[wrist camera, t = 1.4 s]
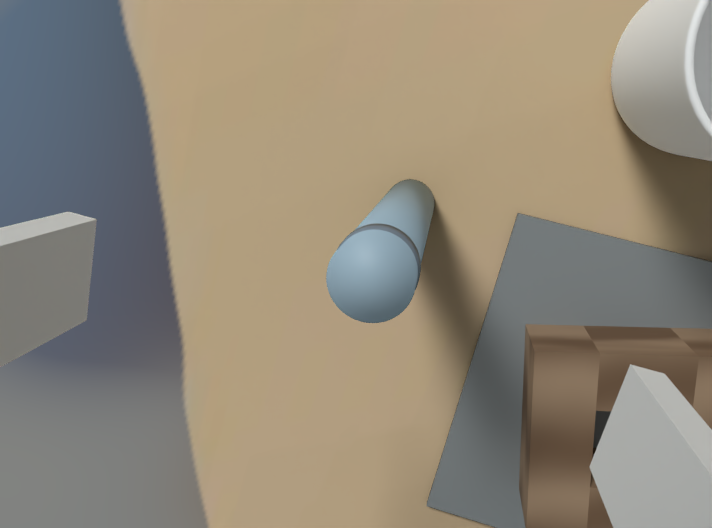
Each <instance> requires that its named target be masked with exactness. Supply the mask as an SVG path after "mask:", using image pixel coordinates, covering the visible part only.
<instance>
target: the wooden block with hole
mask: <svg viewBox="0 0 712 528" xmlns="http://www.w3.org/2000/svg"><path fill="white" fill-rule="evenodd" d="M630 364H631V365H635V366H638V367H642V368H646V369H649V370H653V371H657V372H660V373H664V374H665V375H666V376H667V377H668V378H669V379H670V381H671V382H672V383H673V384H674V385H675V387H676V388H677V389H678V390H679V391H680V393H681V394H682V395H683V396H684V397H685V399H686V400H687V401H688V402H689V403H690V405H691V406H692V407H693V408H694V409H695V411H696V412H697V413H698V414H699V415H700V417H701V418H702V419H703V420H704V421H705V422H706V424H707V425H708V426H709V427H710V428H711V430H712V329H700V328H659V327H618V326H578V325H537V324H525V349H524V374H523V399H522V424H521V449H520V473H519V492H520V498H521V504H522V510H523V516H524V522H525V528H613V526H612V523H611V521H610V518H609V516H608V513H607V510H606V508H605V505H604V503H603V500H602V498H601V495H600V493H599V490H598V488H597V485H596V483H595V480H594V478H593V475H592V472H591V470H590V467H589V466H590V464H591V461H592V459H593V456H594V454H595V451H596V449H597V448H593V442H594V429H595V416H596V411H612V409H613V406H614V404H615V401H616V399H617V396H618V394H619V391H620V389H621V386H622V384H623V381H624V379H625V376H626V374H627V371H628V369H629V366H630Z"/></svg>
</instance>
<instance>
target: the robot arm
mask: <svg viewBox="0 0 712 528" xmlns="http://www.w3.org/2000/svg"><path fill="white" fill-rule="evenodd" d="M95 230H96V219H94V218H90V217H86V216H82V215H79V214H75V213H71V212H65V213H61V214H57V215H53V216H48V217H44V218H40V219H36V220H32V221H27V222H23V223H19V224H15V225H10V226H6V227H2V228H0V367H2V366H3V365H5V364H7V363H9V362H11V361H13V360H14V359H16V358H18V357H20V356H22V355H24V354H25V353H27V352H29V351H31V350H33V349H35V348H36V347H38V346H40V345H42V344H44V343H46V342H47V341H49V340H51V339H53V338H55V337H57V336H58V335H60V334H62V333H64V332H66V331H68V330H69V329H71V328H73V327H75V326H77V325H79V324H80V323H82V322H84V321H86V319H87V309H88V300H89V290H90V279H91V270H92V260H93V250H94V240H95ZM589 467H590V470H591V472H592V475H593V478H594V480H595V483H596V485H597V488H598V490H599V493H600V495H601V498H602V500H603V503H604V505H605V508H606V510H607V513H608V516H609V518H610V521H611V523H612V526H613V528H712V430H711V428H710V427H709V426H708V425H707V424H706V422H705V421H704V420H703V419H702V418H701V417H700V415H699V414H698V413H697V412H696V411H695V409H694V408H693V407H692V406H691V405H690V403H689V402H688V401H687V400H686V399H685V397H684V396H683V395H682V394H681V393H680V391H679V390H678V389H677V388H676V387H675V385H674V384H673V383H672V382H671V381H670V379H669V378H668V377H667V376H666V375H665V374H664V373H660V372H657V371H653V370H649V369H646V368H642V367H638V366H635V365H631V364H630V366H629V369H628V371H627V374H626V376H625V379H624V381H623V384H622V386H621V389H620V391H619V394H618V396H617V399H616V401H615V404H614V406H613V409H612V411H611V414H610V416H609V419H608V421H607V424H606V426H605V429H604V431H603V434H602V436H601V439H600V441H599V444H598V446H597V449H596V451H595V454H594V456H593V459H592V461H591V464H590V466H589Z"/></svg>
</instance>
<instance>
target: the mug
mask: <svg viewBox="0 0 712 528" xmlns="http://www.w3.org/2000/svg"><path fill="white" fill-rule="evenodd" d="M611 87H612V94H613V98H614V102H615V105H616V107H617V110H618V112H619V114H620V116H621V117H622V119H623V121H624V122H625V123H626V125H627V126H628V127H629V128H630V130H631V131H632V132H633V133H634V134H636V135H637V136H638V137H639V138H640V139H641V140H643V141H644V142H646V143H647V144H649V145H651V146H653V147H655V148H657V149H659V150H662V151H665V152H668V153H671V154H675V155H680V156H686V157H692V158H697V159H703V160H708V161H712V0H649V1H648V2H647V3H645V4H644V5H643V6H642V8H641V9H640V10H639V11H638V12H637V13H636V14H635V15H634V17H633V18H632V20H631V21H630V22H629V24H628V25H627V27H626V29H625V30H624V32H623V34H622V36H621V38H620V40H619V43H618V45H617V47H616V51H615V54H614V58H613V63H612V69H611Z"/></svg>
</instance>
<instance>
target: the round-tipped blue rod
mask: <svg viewBox="0 0 712 528" xmlns="http://www.w3.org/2000/svg"><path fill="white" fill-rule="evenodd" d="M434 204H435V203H434V197H433V194H432V192H431V190H430V189H429V188H428V187H427V186H426V185H425V184H424V183H422V182H420V181H417V180H411V179H409V180H403V181H400V182H399V183H397V184H395V185H394V186H393V187H392V188H391V189H390V191H389V192H388V193H387V194H386V195H385V196H384V197H383V199H382V200H381V201H380V202H379V203H378V204H377V205H376V207H375V208H374V209H373V210H372V211H371V212H370V213H369V215H368V216H367V217H366V218H365V219H364V220H363V221H362V222H361V224H360V225H359V226H358V227H357V228H356V229H355V230H354V231H353V232H351V233H350V234H349V235H348V236H347V237H346V238H345V240H344V241H343V242H342V243H341V244H340V246H339V247H338V249H337V251H336V252H335V253H334V255H333V256H332V258H331V260H330V262H329V265H328V269H327V278H326V280H327V287H328V291H329V294H330V296H331V298H332V300H333V302H334V303H335V304H336V306H337V307H338V308H339V309H340V310H341V311H342V312H343V313H345V314H346V315H348V316H349V317H351V318H353V319H355V320H358V321H361V322H366V323H379V322H384V321H388V320H390V319H392V318H394V317H396V316H398V315H399V314H400V313H401V312H403V311H404V310H405V308H406V307H407V306H408V305H409V303H410V301H411V299H412V297H413V294H414V291H415V289H416V287H417V284H418V281H419V276H420V271H421V261H422V257H423V253H424V249H425V245H426V240H427V236H428V232H429V228H430V223H431V219H432V215H433V211H434Z"/></svg>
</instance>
